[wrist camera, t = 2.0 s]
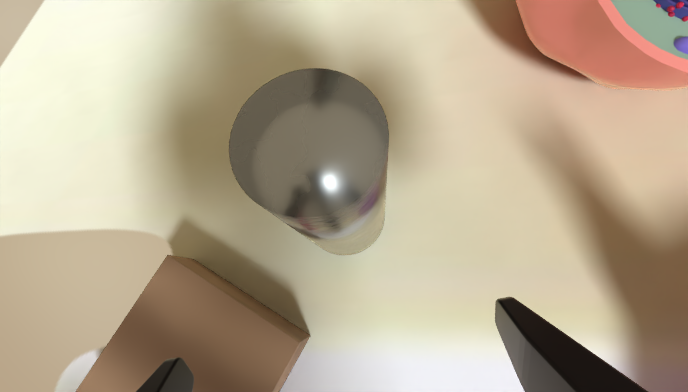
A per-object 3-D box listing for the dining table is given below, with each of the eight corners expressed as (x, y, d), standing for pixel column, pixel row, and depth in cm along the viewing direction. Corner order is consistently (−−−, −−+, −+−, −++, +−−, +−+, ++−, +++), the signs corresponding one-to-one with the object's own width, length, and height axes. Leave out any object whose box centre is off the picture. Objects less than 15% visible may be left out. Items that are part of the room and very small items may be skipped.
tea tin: (360, 270, 22) (335, 248, 10) (291, 230, 23) (198, 170, 11) (398, 199, 23) (417, 105, 11) (330, 165, 24) (283, 47, 13)
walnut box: (223, 491, 20) (197, 526, 17) (105, 392, 22) (63, 408, 19) (310, 335, 21) (299, 342, 19) (193, 259, 24) (167, 255, 21)
